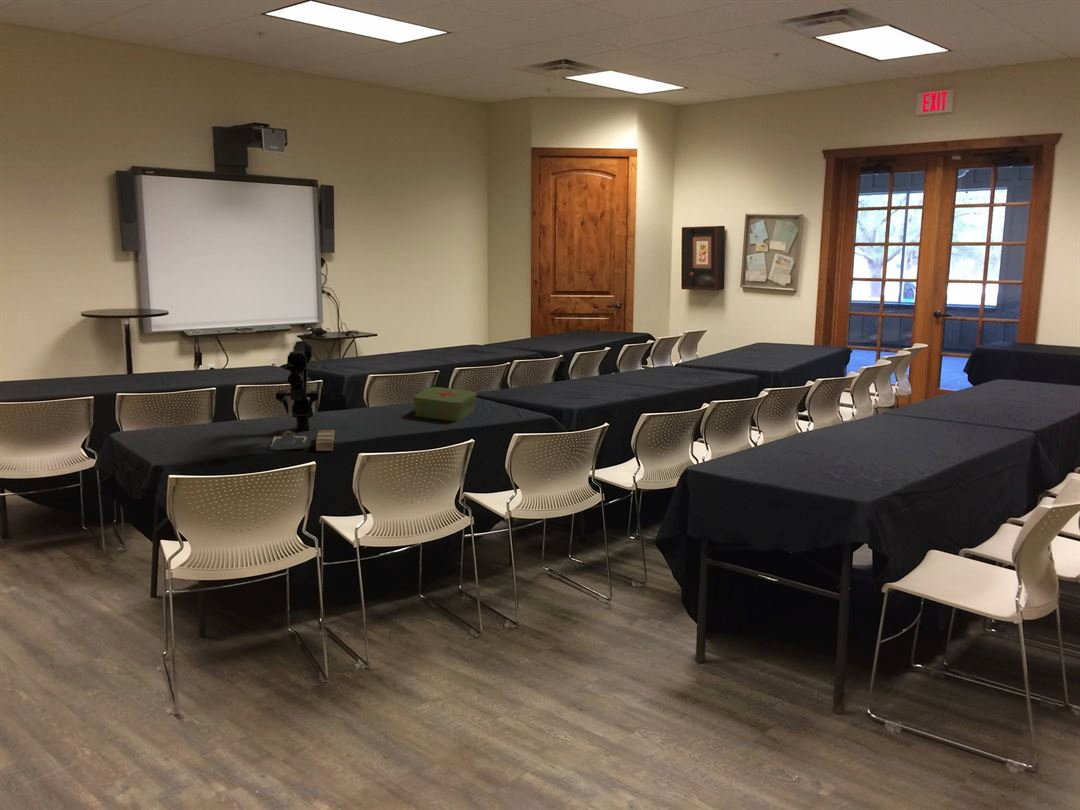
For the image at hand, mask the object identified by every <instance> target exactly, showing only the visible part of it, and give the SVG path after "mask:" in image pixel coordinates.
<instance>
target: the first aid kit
mask: <svg viewBox="0 0 1080 810" xmlns="http://www.w3.org/2000/svg"><path fill="white" fill-rule="evenodd" d="M476 399H477V393H476V392H475V391H471V390H464V389H457V388H456V389H455V388H448V387H442V386H441V387H439V386H434V387H429V388H428V389H426V390H424V391H421V392H420V393H417V394H415V395H414V396H413V403H414V404H415V405H414V415H415V416H417V417H420V418H429V419H435V420H443V421H449V422H450V421H451V422H459V421H461V420H463V419H465V418H466V417H468V416H469V415H471V414H472V413H474V412H475V400H476Z"/></svg>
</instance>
